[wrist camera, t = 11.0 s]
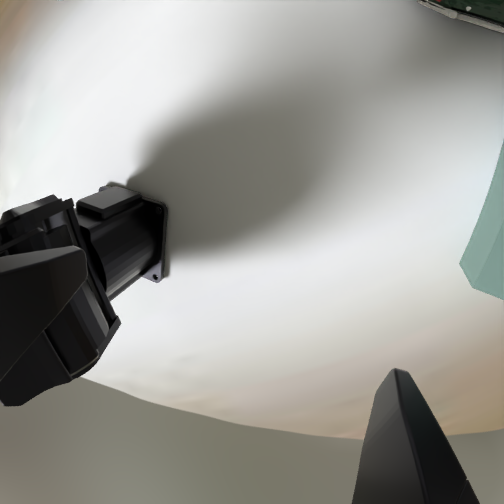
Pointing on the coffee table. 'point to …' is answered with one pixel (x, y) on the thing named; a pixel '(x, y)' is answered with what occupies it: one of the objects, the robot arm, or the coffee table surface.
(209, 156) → the coffee table surface
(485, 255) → the shaft pedestal
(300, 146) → the coffee table surface
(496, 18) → the miniature car
